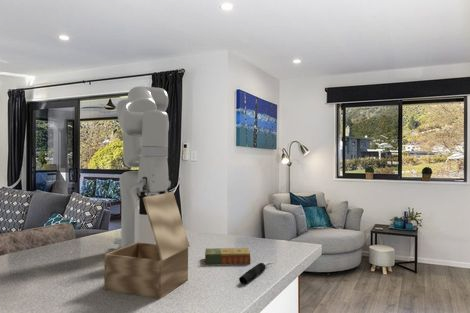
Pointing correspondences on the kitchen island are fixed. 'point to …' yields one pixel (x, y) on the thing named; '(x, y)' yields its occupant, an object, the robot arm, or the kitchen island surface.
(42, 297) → the kitchen island surface
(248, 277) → the black handled hook tool
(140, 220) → the milk
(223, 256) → the carton
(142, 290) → the wooden box
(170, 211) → the lid flap
